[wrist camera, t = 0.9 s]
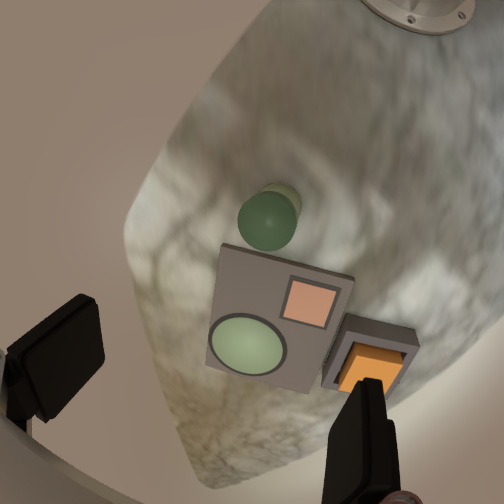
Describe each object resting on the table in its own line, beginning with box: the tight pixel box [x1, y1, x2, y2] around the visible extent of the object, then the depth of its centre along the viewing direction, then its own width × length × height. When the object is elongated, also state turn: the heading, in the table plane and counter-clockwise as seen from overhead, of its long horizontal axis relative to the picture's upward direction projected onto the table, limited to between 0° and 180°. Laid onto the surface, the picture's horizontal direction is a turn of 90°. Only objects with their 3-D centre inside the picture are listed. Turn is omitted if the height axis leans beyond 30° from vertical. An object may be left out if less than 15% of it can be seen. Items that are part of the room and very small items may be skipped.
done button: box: [338, 342, 403, 395], centre depth 28 cm, size 5×5×2 cm
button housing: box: [321, 313, 420, 400], centre depth 30 cm, size 8×8×3 cm
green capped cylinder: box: [238, 183, 301, 251], centre depth 25 cm, size 4×4×6 cm
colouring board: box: [205, 243, 355, 394], centre depth 32 cm, size 16×13×1 cm
